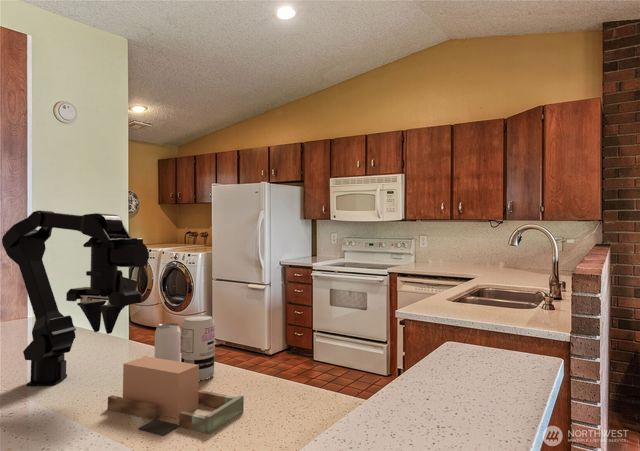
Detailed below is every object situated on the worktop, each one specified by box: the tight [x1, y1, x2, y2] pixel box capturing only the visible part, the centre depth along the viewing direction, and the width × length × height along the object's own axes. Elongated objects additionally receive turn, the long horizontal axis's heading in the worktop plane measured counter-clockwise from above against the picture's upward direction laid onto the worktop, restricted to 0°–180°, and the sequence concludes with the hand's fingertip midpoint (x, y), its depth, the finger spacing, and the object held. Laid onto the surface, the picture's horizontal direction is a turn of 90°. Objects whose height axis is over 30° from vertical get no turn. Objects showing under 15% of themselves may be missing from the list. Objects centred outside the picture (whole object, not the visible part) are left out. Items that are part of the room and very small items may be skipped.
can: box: [153, 322, 181, 362], centre depth 111 cm, size 6×6×12 cm
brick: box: [122, 356, 200, 420], centre depth 87 cm, size 15×6×9 cm, turn 67°
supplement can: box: [180, 315, 216, 381], centre depth 106 cm, size 8×8×15 cm
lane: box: [107, 389, 245, 436], centre depth 86 cm, size 26×19×3 cm
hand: (103, 332), depth 98 cm, fingers open, 4 cm apart
